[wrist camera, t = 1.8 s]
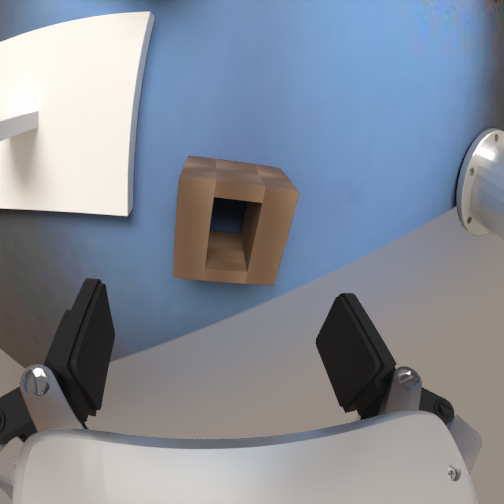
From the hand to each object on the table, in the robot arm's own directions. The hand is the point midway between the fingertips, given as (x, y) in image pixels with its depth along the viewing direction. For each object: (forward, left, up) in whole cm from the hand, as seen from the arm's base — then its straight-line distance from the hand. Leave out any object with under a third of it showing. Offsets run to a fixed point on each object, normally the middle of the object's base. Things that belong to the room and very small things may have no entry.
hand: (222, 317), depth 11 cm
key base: (+15, -6, -11) cm, 20 cm away
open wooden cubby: (-1, 0, -11) cm, 11 cm away
